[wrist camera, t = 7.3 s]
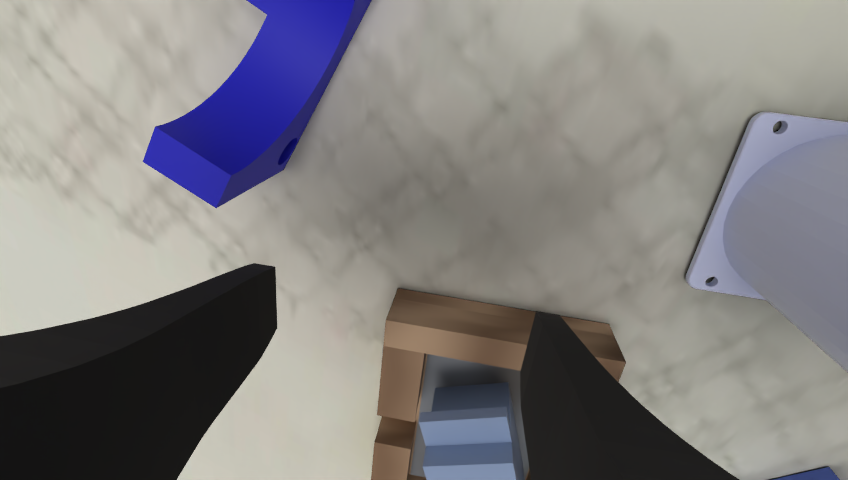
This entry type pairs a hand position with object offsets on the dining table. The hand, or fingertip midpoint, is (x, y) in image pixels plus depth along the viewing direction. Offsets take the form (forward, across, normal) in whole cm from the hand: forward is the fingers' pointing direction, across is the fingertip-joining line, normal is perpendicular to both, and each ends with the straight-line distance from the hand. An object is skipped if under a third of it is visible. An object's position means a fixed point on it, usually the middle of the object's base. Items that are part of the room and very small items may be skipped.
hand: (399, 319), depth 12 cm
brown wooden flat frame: (+10, -4, +12) cm, 16 cm away
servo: (+9, -4, +12) cm, 16 cm away
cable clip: (+10, +7, -7) cm, 14 cm away
